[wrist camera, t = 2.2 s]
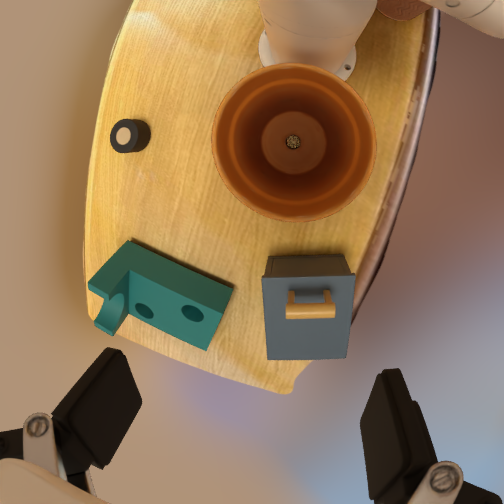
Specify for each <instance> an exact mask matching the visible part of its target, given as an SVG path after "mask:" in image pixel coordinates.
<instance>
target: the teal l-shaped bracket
mask: <svg viewBox="0 0 504 504" xmlns="http://www.w3.org/2000/svg"><path fill="white" fill-rule="evenodd" d="M88 289H89V290H90V291H92V292H94V293H95V294H97V295H99V296H100V297H102V298H104V302H103V305H102V308H101V310H100V312H99V314H98V316H97V317H96V319H95V320H94V324H95V326H96V327H98V328H99V329H101V330H102V331H104V332H106V333H107V334H109V335H111V336H114V334H115V333H116V331H117V330H118V328H119V327H120V325H121V324H122V322H123V321H124V320H125V318H126V317H127V315H128V314H131V315H133V316H134V317H136V318H138V319H140V320H142V321H144V322H146V323H148V324H150V325H152V326H154V327H156V328H158V329H160V330H162V331H164V332H166V333H168V334H170V335H172V336H174V337H176V338H178V339H180V340H182V341H185V342H187V343H189V344H191V345H193V346H196V347H198V348H200V349H202V350H205V351H207V348H208V346H209V344H210V342H211V340H212V337H213V335H214V333H215V331H216V328H217V326H218V324H219V322H220V320H221V317H222V315H223V313H224V311H225V308H226V306H227V303H228V301H229V299H230V296H231V294H232V292H233V289H232V288H229V287H227V286H225V285H223V284H220V283H218V282H216V281H214V280H211V279H209V278H207V277H205V276H203V275H200V274H198V273H196V272H194V271H192V270H189V269H187V268H185V267H183V266H181V265H179V264H176V263H174V262H172V261H170V260H168V259H166V258H164V257H162V256H159V255H157V254H155V253H153V252H151V251H149V250H147V249H145V248H143V247H141V246H139V245H137V244H135V243H133V242H131V241H129V240H127V241H126V242H125V243H124V244H123V245H122V246H121V247H120V249H119V250H118V251H117V252H116V253H115V254H114V255H113V256H112V257H111V258H110V259H109V260H108V261H107V262H106V263H105V264H104V265H103V266H102V267H101V268H100V269H99V271H98V272H97V273H96V274H95V275H94V276H93V277H92V278H91V279H90V280H89V281H88Z"/></svg>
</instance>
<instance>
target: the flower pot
mask: <svg viewBox="0 0 504 504" xmlns="http://www.w3.org/2000/svg"><path fill="white" fill-rule="evenodd" d="M292 135H294V136H296V137H298V138H299V140H300V145H299V147H298V148H296V149H290V148H289V147H288V146H287V145H286V139H287V138H288V137H289V136H292ZM211 143H212V153H213V158H214V161H215V165H216V167H217V170H218V172H219V174H220V176H221V178H222V180H223V182H224V183H225V185H226V186H227V188H228V189H229V190H230V191H231V193H232V194H233V195H234V196H235V197H236V198H237V199H238V200H239V201H241V202H242V203H243V204H244V205H246V206H247V207H249V208H250V209H252V210H253V211H255V212H257V213H259V214H261V215H263V216H266V217H269V218H272V219H275V220H279V221H285V222H308V221H314V220H318V219H322V218H325V217H327V216H330V215H332V214H334V213H336V212H338V211H340V210H341V209H343V208H344V207H346V206H347V205H348V204H350V203H351V202H352V201H353V200H354V199H355V198H356V197H357V196H358V195H359V193H360V192H361V191H362V189H363V188H364V186H365V185H366V183H367V181H368V179H369V177H370V175H371V173H372V170H373V167H374V163H375V158H376V149H377V142H376V133H375V128H374V124H373V121H372V118H371V115H370V113H369V111H368V109H367V107H366V105H365V103H364V102H363V100H362V99H361V97H360V96H359V95H358V94H357V92H356V91H355V90H354V89H353V88H352V87H351V86H350V85H349V84H347V83H346V82H345V81H344V80H342V79H341V78H339V77H338V76H336V75H335V74H333V73H331V72H329V71H327V70H325V69H322V68H319V67H316V66H313V65H309V64H303V63H280V64H275V65H270V66H267V67H264V68H261V69H258V70H256V71H254V72H252V73H250V74H249V75H247V76H245V77H244V78H242V79H241V80H240V81H239V82H238V83H236V84H235V85H234V86H233V87H232V89H231V90H230V91H229V92H228V93H227V94H226V96H225V97H224V99H223V101H222V102H221V104H220V106H219V108H218V110H217V113H216V116H215V119H214V123H213V128H212V137H211Z"/></svg>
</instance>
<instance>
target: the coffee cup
mask: <svg viewBox="0 0 504 504" xmlns="http://www.w3.org/2000/svg"><path fill="white" fill-rule="evenodd" d="M431 7H433V6H431V5H429V4H426V3H424V2H422V1H420V0H377V5H376V8H377V9H378V10H379V11H380V12H381V13H382V14H384V15H385V16H387V17H389V18H391V19H394V20H398V21H406V20H409V19H412V18H414V17H416V16H418V15H419V14H421V13H423V12H424V11H426V10H428V9H430V8H431Z"/></svg>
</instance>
